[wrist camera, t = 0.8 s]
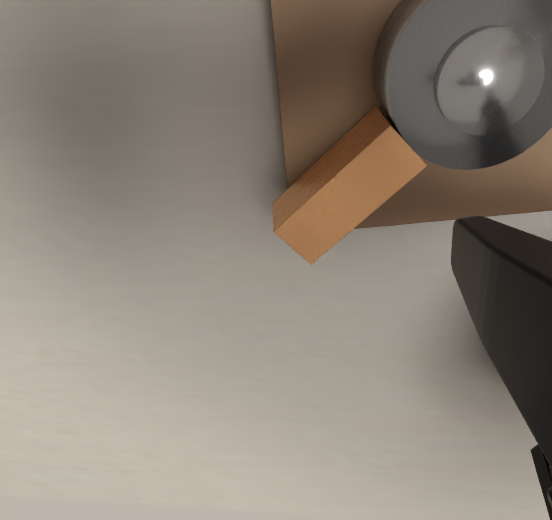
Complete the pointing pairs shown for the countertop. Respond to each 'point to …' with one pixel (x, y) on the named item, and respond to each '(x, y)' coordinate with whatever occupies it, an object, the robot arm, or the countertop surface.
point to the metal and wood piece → (430, 111)
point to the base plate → (362, 99)
